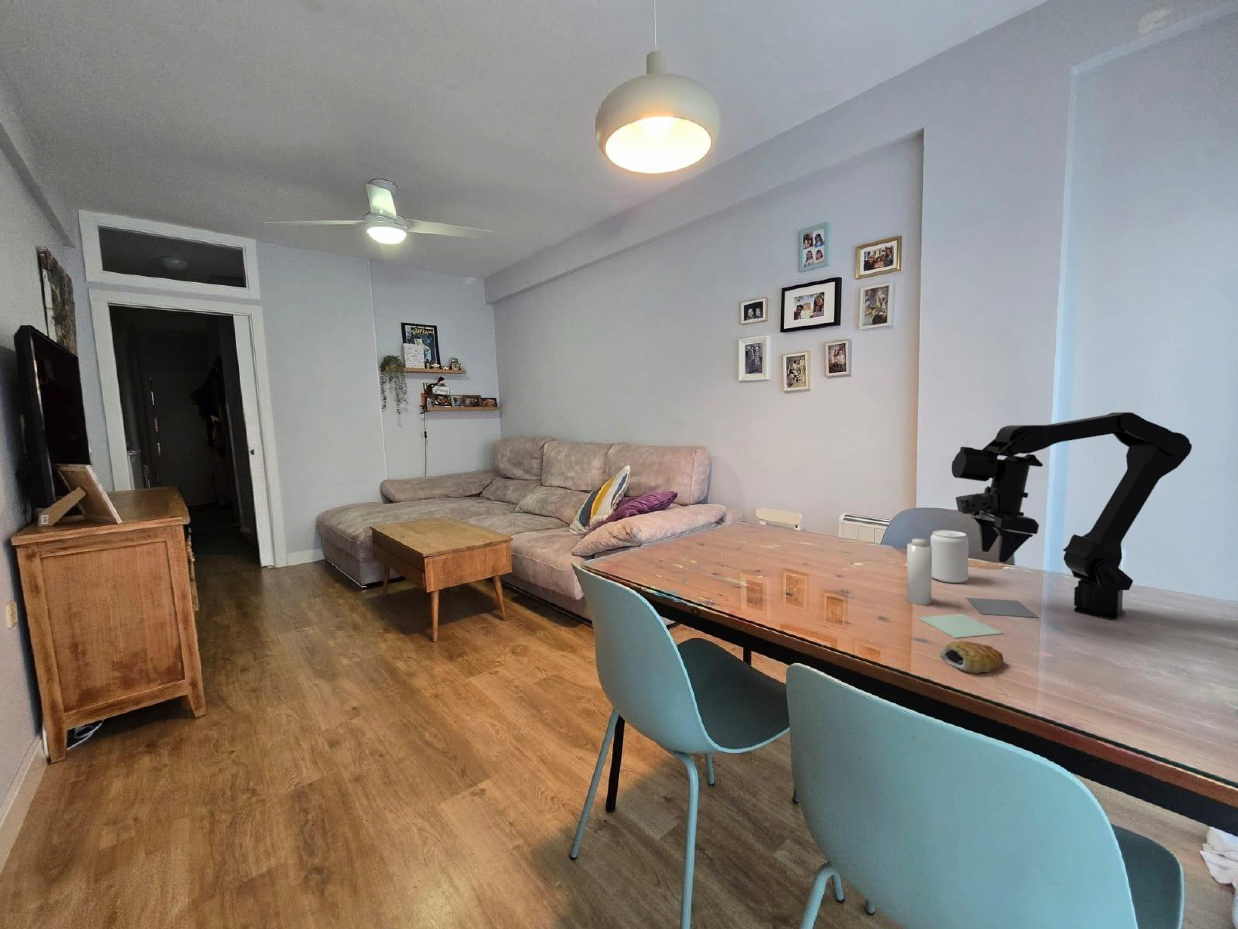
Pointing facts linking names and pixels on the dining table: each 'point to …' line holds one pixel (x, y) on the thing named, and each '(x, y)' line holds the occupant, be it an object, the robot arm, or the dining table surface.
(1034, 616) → the felt pad
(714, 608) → the dining table surface
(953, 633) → the green tile
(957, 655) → the pastry
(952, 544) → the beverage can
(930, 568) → the white bottle
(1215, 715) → the dining table surface
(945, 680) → the dining table surface
